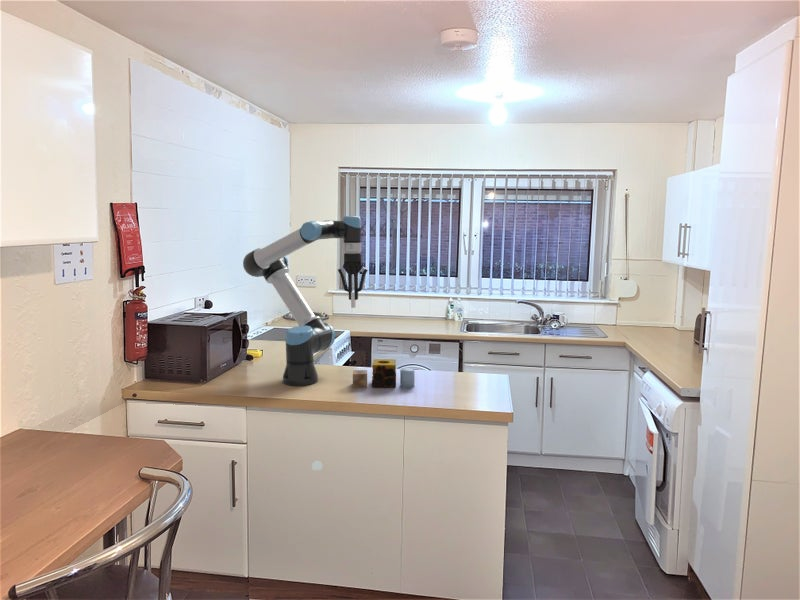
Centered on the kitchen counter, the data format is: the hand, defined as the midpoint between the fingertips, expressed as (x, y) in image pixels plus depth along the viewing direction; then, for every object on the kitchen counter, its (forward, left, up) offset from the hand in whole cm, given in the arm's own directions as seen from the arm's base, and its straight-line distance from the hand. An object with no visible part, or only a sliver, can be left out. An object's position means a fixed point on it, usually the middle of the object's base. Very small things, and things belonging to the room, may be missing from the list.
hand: (353, 307), depth 258 cm
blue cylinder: (+24, -7, -32) cm, 41 cm away
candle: (+14, -6, -33) cm, 36 cm away
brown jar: (+4, -9, -32) cm, 34 cm away
